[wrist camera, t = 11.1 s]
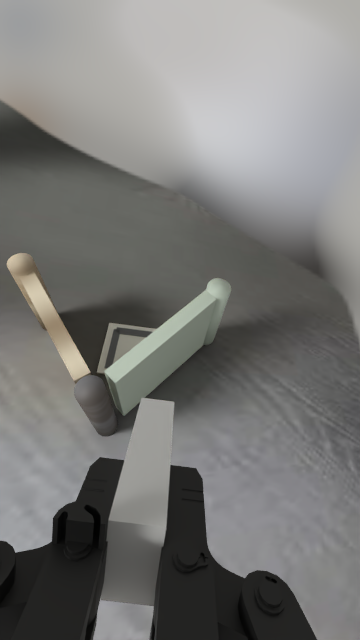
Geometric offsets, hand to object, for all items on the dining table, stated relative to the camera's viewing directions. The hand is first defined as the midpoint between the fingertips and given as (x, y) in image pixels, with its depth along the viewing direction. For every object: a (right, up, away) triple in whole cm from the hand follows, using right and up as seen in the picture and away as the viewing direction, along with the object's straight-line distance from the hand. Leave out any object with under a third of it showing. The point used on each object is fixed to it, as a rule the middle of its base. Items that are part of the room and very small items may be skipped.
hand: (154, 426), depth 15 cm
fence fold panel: (0, 0, +17) cm, 17 cm away
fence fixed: (-9, 0, +17) cm, 19 cm away
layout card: (-4, +2, +18) cm, 19 cm away
